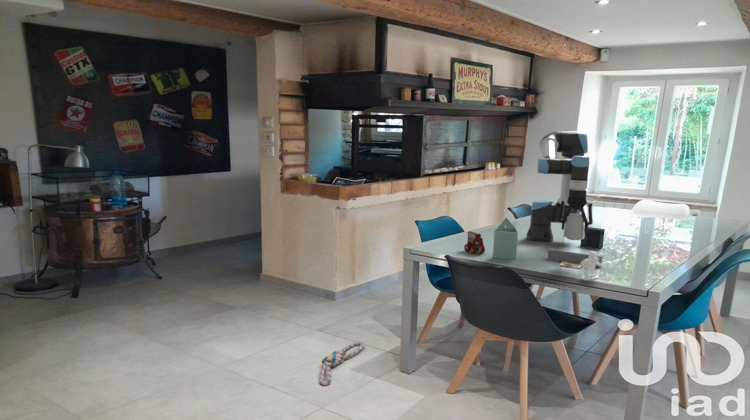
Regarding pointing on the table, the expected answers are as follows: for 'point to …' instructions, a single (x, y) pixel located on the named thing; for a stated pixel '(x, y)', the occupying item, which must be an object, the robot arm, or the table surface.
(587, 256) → the wall
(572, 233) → the can
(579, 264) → the coaster
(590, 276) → the figurine
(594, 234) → the box
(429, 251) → the table surface
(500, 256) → the planter
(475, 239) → the toy fire truck
